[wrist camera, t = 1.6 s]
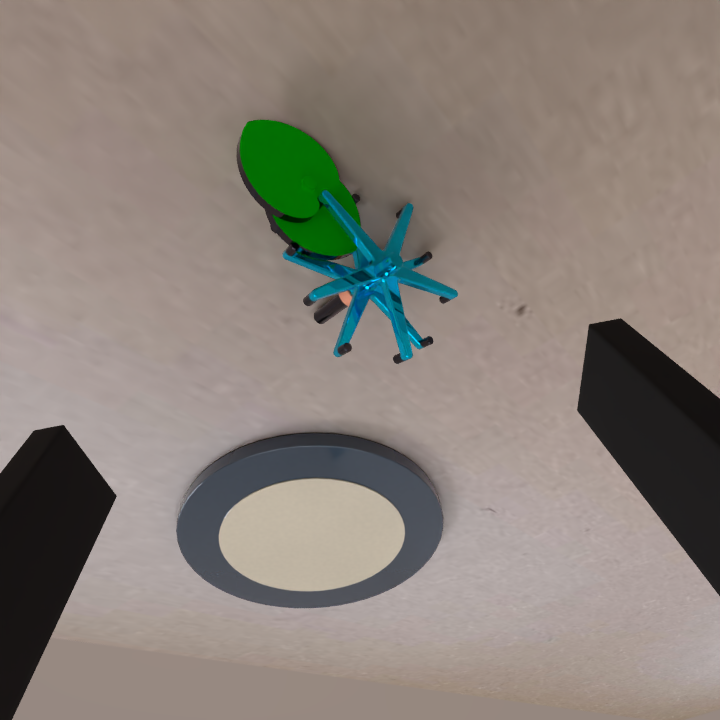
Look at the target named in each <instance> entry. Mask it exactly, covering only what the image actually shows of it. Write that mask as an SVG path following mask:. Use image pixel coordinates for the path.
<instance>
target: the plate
mask: <svg viewBox="0 0 720 720" xmlns="http://www.w3.org/2000/svg"><path fill="white" fill-rule="evenodd" d="M442 531H443V514H442V509H441V505H440V501H439V498H438V494H437V492H436V490H435V488H434V485H433V484H432V482H431V481H430V479H429V478H428V477H427V475H426V474H425V473H424V472H423V471H422V470H421V469H420V468H419V467H418V466H417V465H416V464H415V463H413V462H412V461H411V460H409V459H408V458H407V457H405V456H404V455H402V454H400V453H398V452H396V451H395V450H393V449H391V448H389V447H386V446H383V445H381V444H378V443H376V442H373V441H369V440H365V439H362V438H358V437H353V436H346V435H340V434H327V433H303V434H292V435H285V436H278V437H274V438H269V439H265V440H261V441H258V442H255V443H252V444H249V445H246V446H243V447H241V448H239V449H237V450H235V451H233V452H231V453H229V454H226V455H225V456H223V457H222V458H220V459H219V460H217V461H216V462H214V463H213V464H211V465H210V466H209V467H208V468H207V469H206V470H204V471H203V472H202V473H201V474H200V475H199V476H198V477H197V479H196V480H195V481H194V482H193V483H192V485H191V486H190V488H189V490H188V492H187V493H186V495H185V498H184V501H183V504H182V506H181V510H180V513H179V516H178V519H177V529H176V532H177V540H178V544H179V547H180V550H181V553H182V554H183V556H184V558H185V560H186V561H187V563H188V564H189V565H190V566H191V567H192V569H193V570H194V571H195V572H196V573H197V574H198V575H200V576H201V577H202V578H203V579H204V580H206V581H207V582H209V583H210V584H212V585H213V586H215V587H216V588H218V589H220V590H222V591H224V592H226V593H228V594H231V595H233V596H236V597H238V598H241V599H245V600H248V601H251V602H255V603H260V604H264V605H270V606H277V607H288V608H319V607H330V606H337V605H343V604H348V603H353V602H357V601H360V600H364V599H367V598H370V597H373V596H376V595H378V594H381V593H383V592H385V591H388V590H390V589H392V588H394V587H396V586H397V585H399V584H401V583H403V582H404V581H406V580H407V579H408V578H410V577H411V576H413V575H414V574H415V573H416V572H418V571H419V570H420V569H421V568H422V567H423V566H424V565H425V564H426V563H427V561H428V560H429V559H430V558H431V557H432V555H433V553H434V552H435V550H436V549H437V546H438V544H439V542H440V539H441V535H442Z"/></svg>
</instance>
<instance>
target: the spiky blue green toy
mask: <svg viewBox="0 0 720 720" xmlns="http://www.w3.org/2000/svg"><path fill="white" fill-rule="evenodd" d="M237 164H238V168H239V172H240V175H241V177H242V180H243V182H244V184H245V186H246V188H247V189H248V191H249V192H250V194H251V195H252V196H253V197H254V199H255V200H256V201H257V202H258V203H259V204H260V205H261V206H262V207H263V208H264V209H265V211H266V215H267V218H268V220H269V222H270V224H271V225H270V227H271V230H272V231H273V232H274V233H277V234H278V235H279V236H280V237H281V238H282V239H283V240H284V241H285V242H286V243H287V244H288V245H289V246H288V247H287V249H286V250H285V251H284V252H283V257H284V259H286V260H288V261H291V262H293V263H296V264H298V265H301V266H303V267H306V268H308V269H311V270H313V271H316V272H318V273H321V274H323V275H326V276H328V277H331V278H333V279H336V280H334V281H332V282H329V283H327V284H325V285H323V286H320V287H318V288H316V289H314V290H313V291H312V292H310V293H309V294H308V295H307V296H306V297H305V298H304V299H303V302H304V304H305V305H306V306H311V305H312V304H313V303H315V302H316V301H317V300H320V299H323V298H326V297H329V296H332V295H335V294H338V295H336V296H335V297H334V298H332V299H331V300H330V301H329V302H327V303H326V304H325V305H324V306H322V307H321V308H320V309H318V310H317V311H316V312H315V313H314V319H315V321H316V322H317V323H319V324H324V323H325V322H327V321H328V320H329V319H331V318H332V317H334V316H335V315H336V314H338V313H339V312H341V311H342V310H343V309H345V308H346V307H348V306H349V308H348V311H347V314H346V317H345V320H344V322H343V325H342V328H341V331H340V334H339V337H338V340H337V343H336V345H335V348H334V352H333V353H334V355H335V356H336V357H340V356H342V355H344V354H346V353H348V352H350V351H351V349H352V346H351V344H350V343H349V342H350V340H351V338H352V336H353V333H354V331H355V329H356V327H357V325H358V322H359V320H360V318H361V316H362V314H363V311H364V309H365V307H366V305H367V303H368V300H369V299H371V300H372V301H373V302H374V303H375V304H376V305H377V306H378V307H379V308H380V309H381V311H382V312H383V313H384V314H385V315H386V316H387V317H388V318H389V319H390V320H391V323H392V326H393V330H394V333H395V337H396V340H397V344H398V347H399V351H400V353H399V354H397V355H395V356H394V357H393V361H394V362H395V363H396V364H399V363H401V362H403V361H406V360H408V359H411V358H412V356H413V353H412V349H411V344H410V341H411V343H412V344H413V345H414V346H415V347H416V348H417V349H422V348H424V347H426V346H429V345H431V344H433V338H432V337H431V336H428V337H426V338H424V339H422V338H421V336H420V335H419V334H418V333H417V331H416V330H415V329H414V328H413V326H412V325H411V324H410V323H409V321H408V320H407V319H406V317H405V315H404V310H403V306H402V301H401V296H400V291H399V286H398V283H402V284H405V285H408V286H411V287H414V288H417V289H420V290H423V291H427V292H430V293H433V294H436V295H439V296H441V297H440V302H441V303H443V304H444V303H446V302H448V301H450V300H452V299H454V298H455V297H457V296H458V292H457V291H456V290H454V289H452V288H450V287H448V286H446V285H443V284H441V283H439V282H437V281H435V280H432V279H430V278H428V277H426V276H424V275H421V274H419V273H417V272H415V271H413V269H415V268H417V267H419V266H421V265H423V264H424V263H426V262H427V261H429V260H430V259H431V258H432V254H431V253H430V252H426V253H425V254H424V255H422V256H421V257H418V258H415V259H412V260H408V261H405V262H403V260H402V258H401V256H400V251H401V248H402V245H403V241H404V238H405V235H406V231H407V228H408V225H409V222H410V218H411V215H412V212H413V205H412V204H411V203H408V204H406V205H405V206H404V207H403V208H402V209H401V210H400V211H399V212H397V213H396V217H397V218H398V220H397V222H396V224H395V227H394V229H393V231H392V233H391V235H390V237H389V239H388V242H387V244H386V246H385V248H384V250H383V251H382V250H381V249H380V248H379V247H378V246H377V245H376V244H375V243H374V242H373V241H372V239H371V238H370V237H369V236H368V235H367V234H366V233H365V232H364V231H363V229H362V228H361V223H360V217H359V213H358V210H357V207H356V204H357V203H358V202H359V201H360V197H359V195H357V194H353V195H352V196H351V195H350V193H349V191H348V190H347V188H346V187H345V186H344V185H343V184H342V182H341V181H340V180H339V175H338V171H337V169H336V167H335V164H334V163H333V161H332V159H331V158H330V156H329V155H328V153H327V152H326V151H325V150H324V149H323V148H322V147H321V145H320V144H318V143H317V142H316V141H315V140H314V139H313V138H311V137H310V136H309V135H307V134H306V133H304V132H302V131H301V130H299V129H297V128H295V127H293V126H290V125H288V124H285V123H282V122H277V121H271V120H254V121H249V122H247V124H246V126H245V127H244V129H243V131H242V134H241V136H240V138H239V141H238V145H237ZM351 254H353V258H354V264H355V269H353V268H350V267H346V266H343V265H340V264H337V263H334V262H331V261H328V260H336V259H341V258H344V257H347V256H349V255H351Z"/></svg>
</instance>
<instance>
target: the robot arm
mask: <svg viewBox="0 0 720 720" xmlns="http://www.w3.org/2000/svg"><path fill="white" fill-rule="evenodd" d="M577 411H578V412H579V413H580V415H581V416H582V417H583V419H584V420H585V421H586V422H587V424H588V425H589V426H590V428H591V429H592V430H593V432H594V433H595V434H596V435H597V437H598V438H599V439H600V441H601V442H602V443H603V445H604V446H605V447H606V449H607V450H608V451H609V452H610V454H611V455H612V456H613V458H614V459H615V460H616V462H617V463H618V464H619V465H620V467H621V468H622V469H623V471H624V472H625V473H626V475H627V476H628V477H629V478H630V480H631V481H632V482H633V484H634V485H635V486H636V488H637V489H638V490H639V491H640V493H641V494H642V495H643V497H644V498H645V499H646V501H647V502H648V503H649V505H650V506H651V507H652V508H653V510H654V511H655V512H656V514H657V515H658V516H659V518H660V519H661V520H662V521H663V523H664V524H665V525H666V527H667V528H668V529H669V531H670V532H671V533H672V534H673V536H674V537H675V538H676V540H677V541H678V542H679V544H680V545H681V546H682V547H683V549H684V550H685V551H686V553H687V554H688V555H689V557H690V558H691V559H692V560H693V562H694V563H695V564H696V566H697V567H698V568H699V570H700V571H701V572H702V574H703V575H704V576H705V577H706V579H707V580H708V581H709V583H710V584H711V585H712V587H713V588H714V589H715V590H716V592H717V593H718V594H719V596H720V399H719V398H718V397H717V396H716V395H714V394H713V393H712V392H711V391H710V390H708V389H707V388H706V387H705V386H703V385H702V384H701V383H700V382H698V381H697V380H696V379H695V378H694V377H692V376H691V375H690V374H689V373H687V372H686V371H685V370H684V369H683V368H681V367H680V366H679V365H678V364H676V363H675V362H674V361H673V360H671V359H670V358H669V357H668V356H667V355H665V354H664V353H663V352H662V351H660V350H659V349H658V348H657V347H655V346H654V345H653V344H652V343H651V342H649V341H648V340H647V339H646V338H644V337H643V336H642V335H641V334H639V333H638V332H637V331H636V330H635V329H633V328H632V327H631V326H630V325H628V324H627V323H626V322H625V321H623V320H622V319H621V318H620V319H615V320H610V321H605V322H599V323H594V324H589V329H588V336H587V344H586V351H585V358H584V365H583V372H582V380H581V387H580V394H579V401H578V408H577ZM116 497H117V496H116V494H115V493H114V492H113V490H112V489H111V488H110V486H109V485H108V484H107V482H106V481H105V480H104V478H103V477H102V476H101V474H100V473H99V472H98V470H97V469H96V468H95V466H94V465H93V464H92V462H91V461H90V460H89V458H88V457H87V456H86V454H85V453H84V452H83V450H82V449H81V448H80V446H79V445H78V444H77V442H76V441H75V440H74V438H73V437H72V436H71V434H70V433H69V432H68V430H67V429H66V428H65V426H64V425H61V426H56V427H50V428H45V429H40V430H35V431H33V432H32V434H31V435H30V436H29V438H28V439H27V440H26V441H25V443H24V444H23V445H22V447H21V448H20V449H19V450H18V452H17V453H16V454H15V455H14V457H13V458H12V459H11V461H10V462H9V463H8V464H7V466H6V467H5V468H4V469H3V471H2V472H1V473H0V720H12V718H13V716H14V714H15V712H16V710H17V707H18V705H19V703H20V701H21V699H22V697H23V695H24V693H25V691H26V688H27V686H28V684H29V682H30V680H31V678H32V676H33V673H34V671H35V669H36V667H37V665H38V663H39V661H40V658H41V656H42V654H43V652H44V650H45V648H46V646H47V644H48V642H49V639H50V637H51V635H52V633H53V631H54V629H55V627H56V624H57V622H58V620H59V618H60V616H61V614H62V612H63V610H64V607H65V605H66V603H67V601H68V599H69V597H70V595H71V593H72V590H73V588H74V586H75V584H76V582H77V580H78V578H79V575H80V573H81V571H82V569H83V567H84V565H85V563H86V561H87V558H88V556H89V554H90V552H91V550H92V548H93V546H94V544H95V541H96V539H97V537H98V535H99V533H100V531H101V529H102V526H103V524H104V522H105V520H106V518H107V516H108V514H109V512H110V509H111V507H112V505H113V503H114V501H115V499H116Z"/></svg>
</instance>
